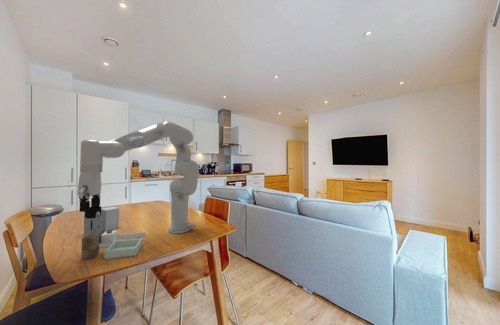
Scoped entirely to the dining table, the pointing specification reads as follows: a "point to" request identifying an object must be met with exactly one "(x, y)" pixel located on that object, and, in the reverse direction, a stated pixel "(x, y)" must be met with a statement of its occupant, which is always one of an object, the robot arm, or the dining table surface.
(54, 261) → the dining table surface
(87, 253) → the stop block
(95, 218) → the glass holder
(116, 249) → the tray
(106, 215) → the supplement box
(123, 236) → the piston rail
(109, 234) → the block
